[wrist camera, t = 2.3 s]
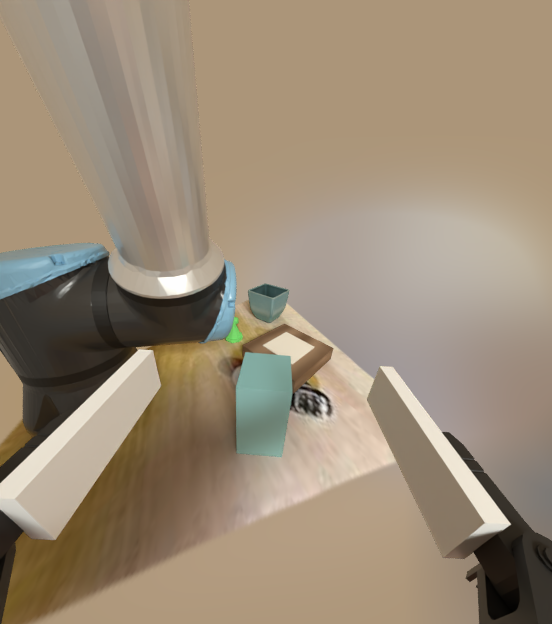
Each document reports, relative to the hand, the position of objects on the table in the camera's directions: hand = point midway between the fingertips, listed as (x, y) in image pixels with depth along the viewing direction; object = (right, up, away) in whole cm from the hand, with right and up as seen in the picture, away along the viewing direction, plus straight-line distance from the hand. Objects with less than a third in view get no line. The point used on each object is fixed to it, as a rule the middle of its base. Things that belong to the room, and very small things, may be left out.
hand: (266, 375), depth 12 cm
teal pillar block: (-2, -14, +17) cm, 22 cm away
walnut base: (+3, -6, +33) cm, 34 cm away
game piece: (-10, -3, +38) cm, 40 cm away
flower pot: (-2, +2, +49) cm, 49 cm away
